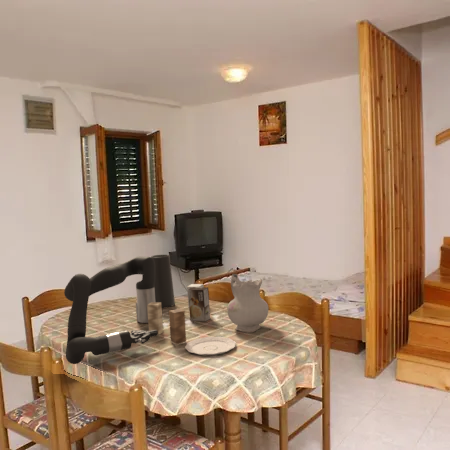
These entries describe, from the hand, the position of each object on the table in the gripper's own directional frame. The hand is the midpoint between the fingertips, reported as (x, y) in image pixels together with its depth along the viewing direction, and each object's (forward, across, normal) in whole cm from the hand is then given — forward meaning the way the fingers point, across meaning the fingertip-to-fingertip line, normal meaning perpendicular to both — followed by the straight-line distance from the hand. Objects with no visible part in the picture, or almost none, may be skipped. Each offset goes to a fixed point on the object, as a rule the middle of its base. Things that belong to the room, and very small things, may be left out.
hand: (157, 332), depth 193 cm
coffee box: (+34, -25, -7) cm, 43 cm away
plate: (+17, +15, -7) cm, 24 cm away
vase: (+33, -66, -7) cm, 74 cm away
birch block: (+8, -19, -6) cm, 21 cm away
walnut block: (+10, 0, -6) cm, 12 cm away
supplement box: (+45, -47, -7) cm, 66 cm away
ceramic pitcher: (+44, +3, -7) cm, 45 cm away
